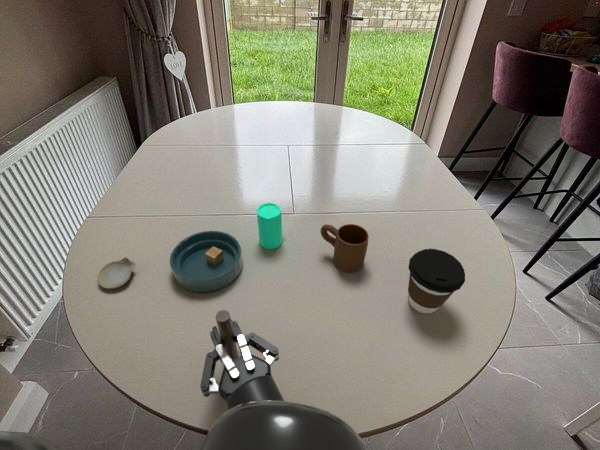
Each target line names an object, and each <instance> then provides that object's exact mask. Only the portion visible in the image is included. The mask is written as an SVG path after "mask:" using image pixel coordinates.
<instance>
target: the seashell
mask: <svg viewBox="0 0 600 450" xmlns="http://www.w3.org/2000/svg"><path fill="white" fill-rule="evenodd" d="M135 267H136V263H135V262H133V261H132V260H130V259H129V258H128V257H127V256H126V257H123V258H121V259H120V260H114V261H111V262H108V263H106V264H105V265H104V266H103V267H102V268H101V269H100V270H99V272H98V275H97V283H98V285H99V287H101V288H103V289H107V290H113V289H114V290H115V289H119V288H120V287H122V286H123V285H125V284H126V283H127V282H128V281H129V280H130V278H131V275H132V272H133V271H134V269H135Z"/></svg>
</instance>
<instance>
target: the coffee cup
mask: <svg viewBox="0 0 600 450" xmlns="http://www.w3.org/2000/svg"><path fill="white" fill-rule="evenodd" d="M407 269H408V271H409V279H408V287H407V292H408V293H407V300H408V302H409V305H410V306H411V307H412V309H414V310H415V311H416V312H418V313H421V314H425V315H427V314H428V315H429V314H432V313H435V312H437V311H438V309H439V308H440V307H442V306H443V305H444V304H445V303H446V302H447V301H448V300H449V298H450V297H451V296H452V295H453V294H454V292H456V291H459V290H460V289H461V288H462V287H463V285H464V284H465V282H466V272H465V269H464V266H463V265H462V263H461V262H460V261H459V260H458V259H457V257H455V256H454V255H452V254H450V253H448V252H446V251H445V250H441V249H437V248H425V249H421V250H419V251H417V252H415V253H414V254H413V255H412V256H411V257H410V258H409V261H408V268H407Z"/></svg>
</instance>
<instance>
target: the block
mask: <svg viewBox="0 0 600 450" xmlns="http://www.w3.org/2000/svg"><path fill="white" fill-rule="evenodd" d="M205 257H206V261H207V262H208V263H210V264H212V265H214V266H217V265H218V264H219V263H221V262H222V261H223V260H224V256H223V251H222V250H220V249H218V248H216V247H214V246H213V247H212V248H211V249H209V250H208V251H207V252H206V253H205Z"/></svg>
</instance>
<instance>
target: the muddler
mask: <svg viewBox="0 0 600 450" xmlns="http://www.w3.org/2000/svg"><path fill="white" fill-rule="evenodd" d="M231 320H232V318H231V314H230V312H229V311H228V310H226V309H221V310H219V311H217V313H216V314H215V321H216V326H217V329H218V332H219V334H220V337H221V339H222V341H223V345H224V348H225V350H226V352H227V353H228V355H229V357H230V358H231V360H232V359H237V358H238V357H239V356H241V352H240V350H239V351H238V347H237V343H236V342H235V337H234V332H233V327H232V323H231Z"/></svg>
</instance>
